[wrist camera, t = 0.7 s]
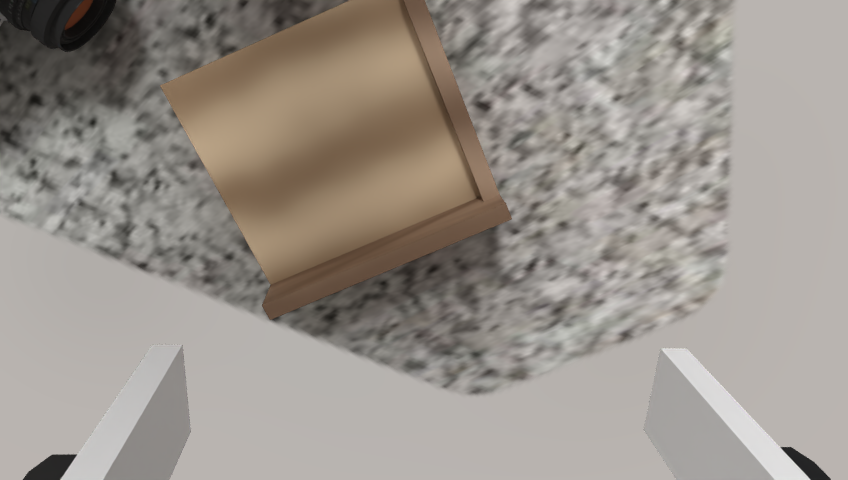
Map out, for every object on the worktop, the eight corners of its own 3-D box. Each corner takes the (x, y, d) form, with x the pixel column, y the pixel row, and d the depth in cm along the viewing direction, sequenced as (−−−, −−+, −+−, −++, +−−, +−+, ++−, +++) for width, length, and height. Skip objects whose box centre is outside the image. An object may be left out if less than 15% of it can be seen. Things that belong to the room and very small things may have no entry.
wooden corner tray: (177, 81, 36) (139, 90, 30) (408, -23, 35) (414, -34, 29) (285, 279, 41) (270, 319, 35) (492, 192, 40) (511, 219, 34)
